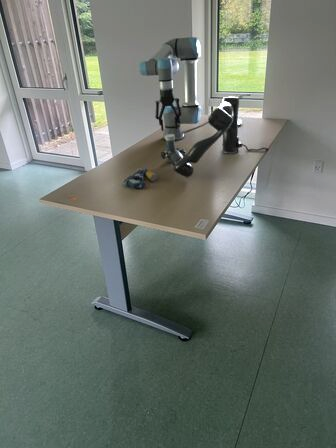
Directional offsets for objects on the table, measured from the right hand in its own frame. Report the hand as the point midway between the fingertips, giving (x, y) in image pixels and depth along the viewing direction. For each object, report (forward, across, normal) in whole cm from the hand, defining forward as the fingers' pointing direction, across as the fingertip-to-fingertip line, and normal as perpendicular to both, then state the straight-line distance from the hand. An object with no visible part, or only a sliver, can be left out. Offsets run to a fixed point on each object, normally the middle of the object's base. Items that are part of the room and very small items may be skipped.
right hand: (170, 150), depth 207 cm
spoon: (+47, -60, +6) cm, 76 cm away
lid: (-2, 0, -9) cm, 10 cm away
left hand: (-2, 0, -13) cm, 14 cm away
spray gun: (-27, +23, +6) cm, 36 cm away
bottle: (-2, 0, +6) cm, 6 cm away
